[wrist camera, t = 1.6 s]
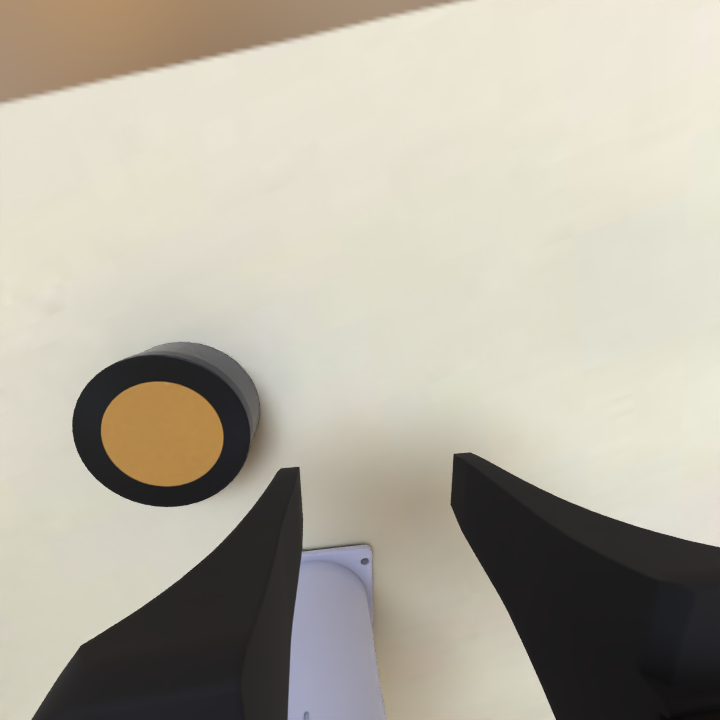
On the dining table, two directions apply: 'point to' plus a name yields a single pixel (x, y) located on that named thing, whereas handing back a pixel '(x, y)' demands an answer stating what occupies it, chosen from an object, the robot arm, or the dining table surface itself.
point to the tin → (167, 424)
